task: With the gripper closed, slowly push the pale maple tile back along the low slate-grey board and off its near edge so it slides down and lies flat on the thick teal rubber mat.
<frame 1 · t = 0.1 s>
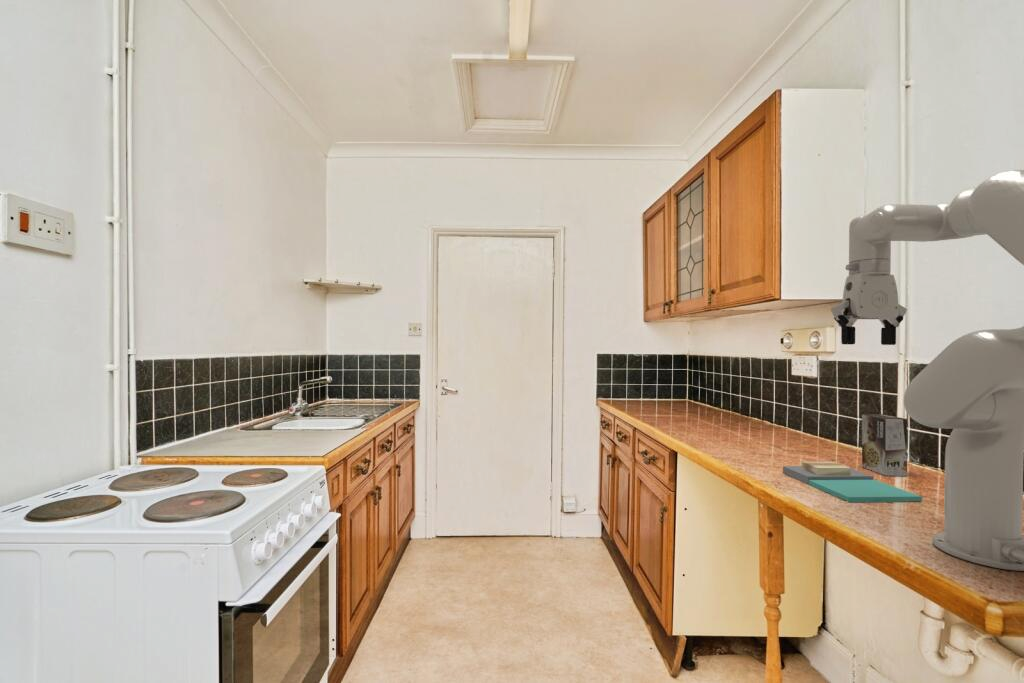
hand: (868, 344, 103), 37 cm above the countertop, tool pointing down, fingers open, 9 cm apart
coffee box: (883, 472, 131), on the countertop
tile: (825, 472, 123), point 2 cm above the countertop, touching board
board: (826, 478, 124), on the countertop
mat: (862, 492, 112), on the countertop
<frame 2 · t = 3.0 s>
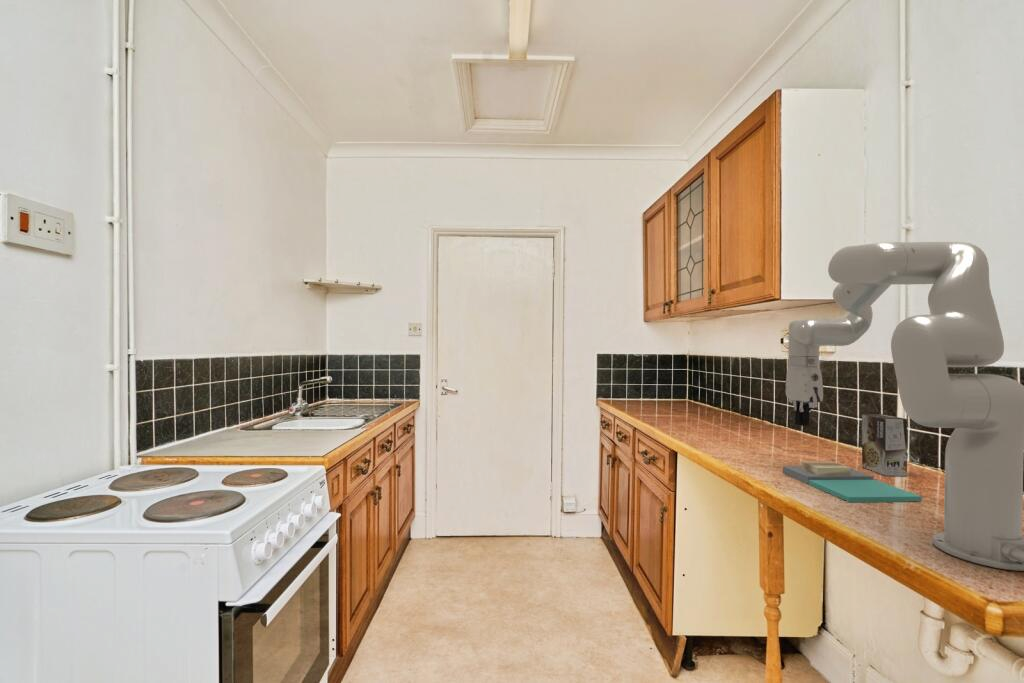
hand: (802, 424, 132), 13 cm above the countertop, tool pointing down, fingers closed
nothing on the countertop moved.
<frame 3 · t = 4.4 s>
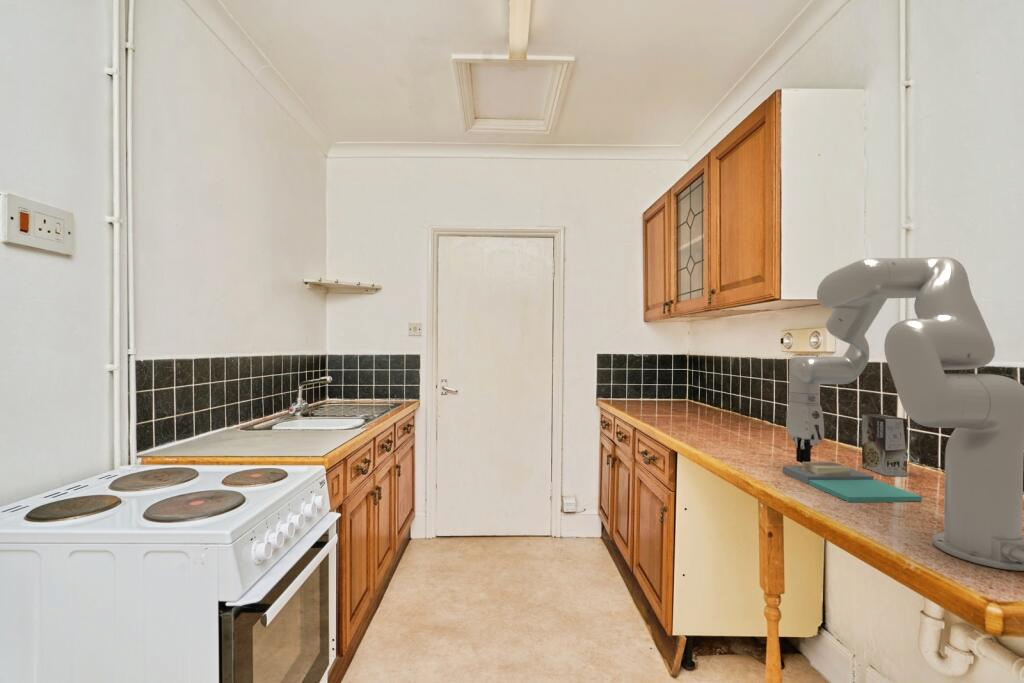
hand: (803, 461, 131), 2 cm above the countertop, tool pointing down, fingers closed
nothing on the countertop moved.
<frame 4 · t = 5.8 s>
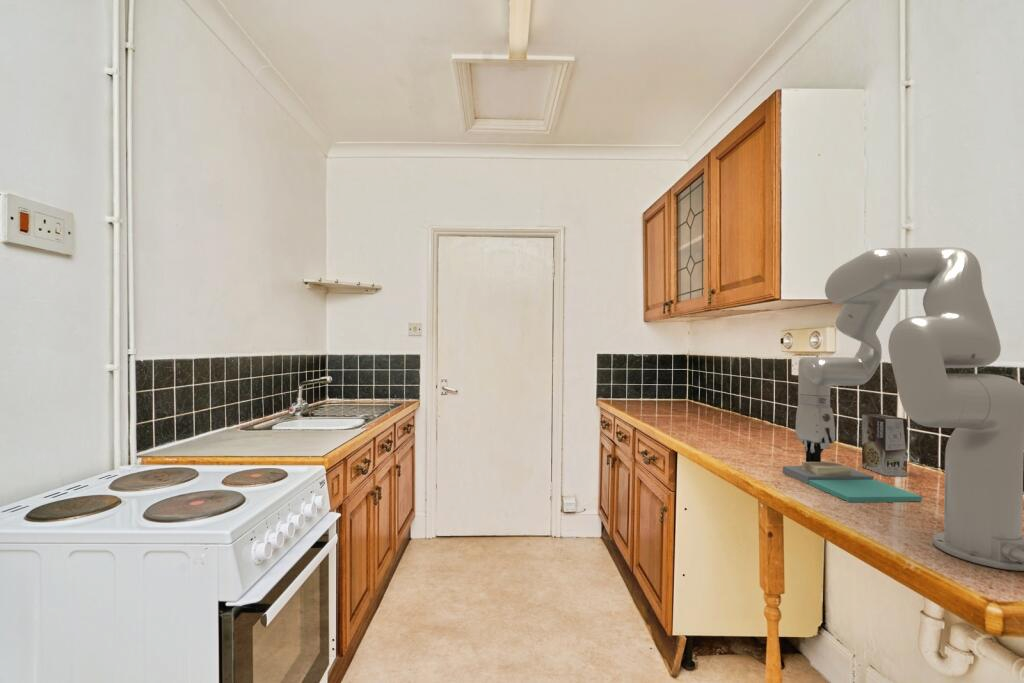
hand: (813, 465, 127), 2 cm above the countertop, tool pointing down, fingers closed
tile: (825, 472, 123), point 2 cm above the countertop, touching board, gripper
everything else where it was.
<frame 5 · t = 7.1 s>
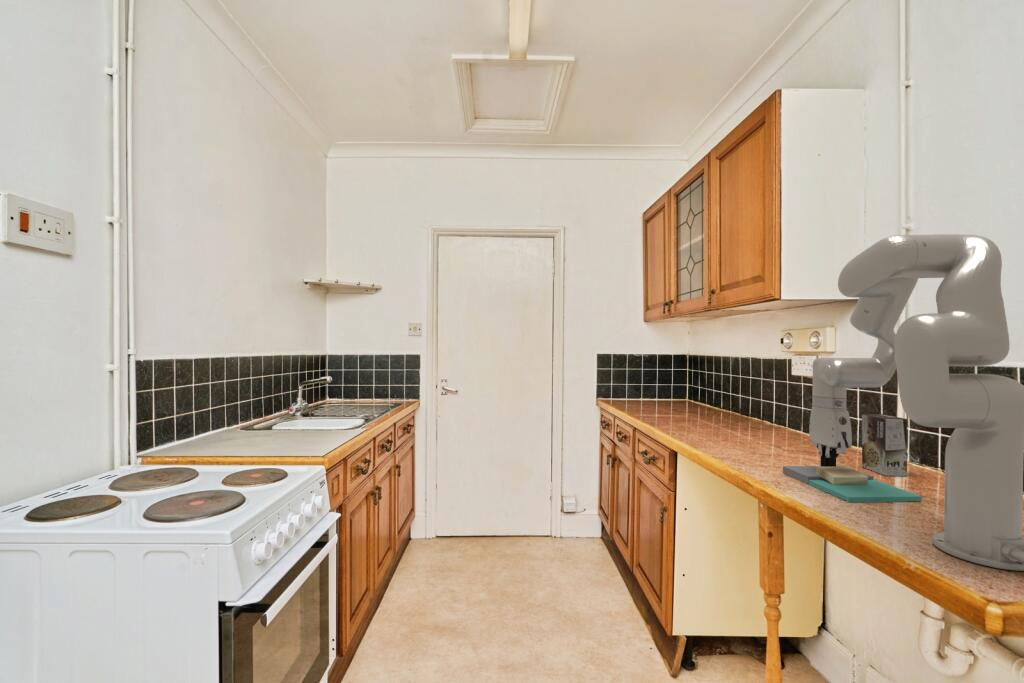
hand: (828, 471, 122), 2 cm above the countertop, tool pointing down, fingers closed
tile: (841, 478, 117), point 2 cm above the countertop, tilted 11°, touching gripper
everything else where it was.
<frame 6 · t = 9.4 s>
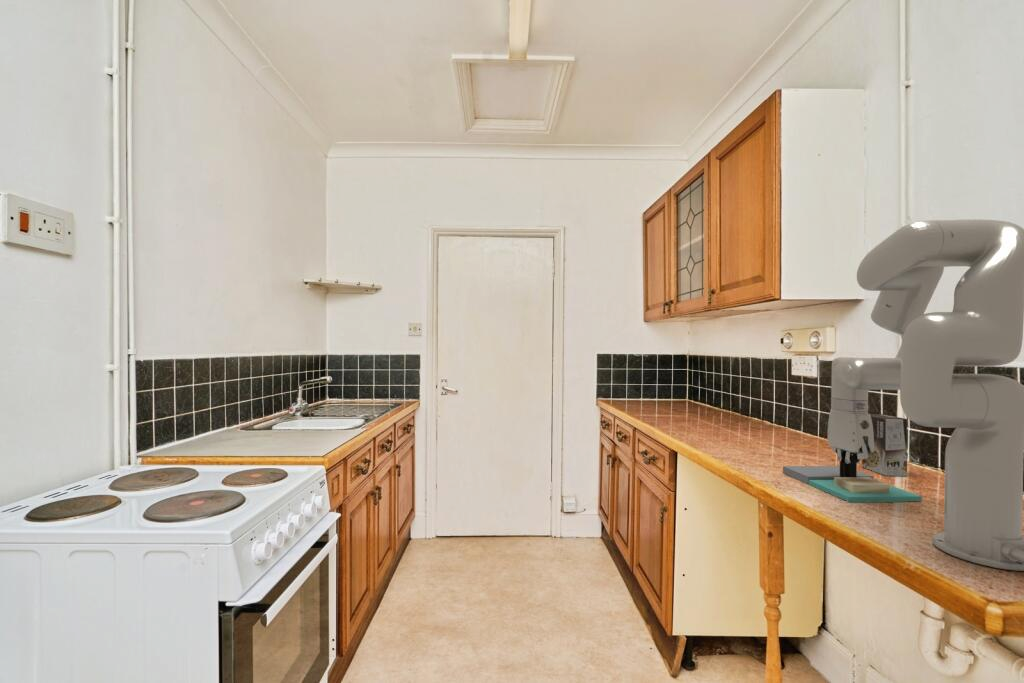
hand: (848, 477, 115), 3 cm above the countertop, tool pointing down, fingers closed
tile: (861, 489, 111), point 1 cm above the countertop, touching gripper, mat
everything else where it was.
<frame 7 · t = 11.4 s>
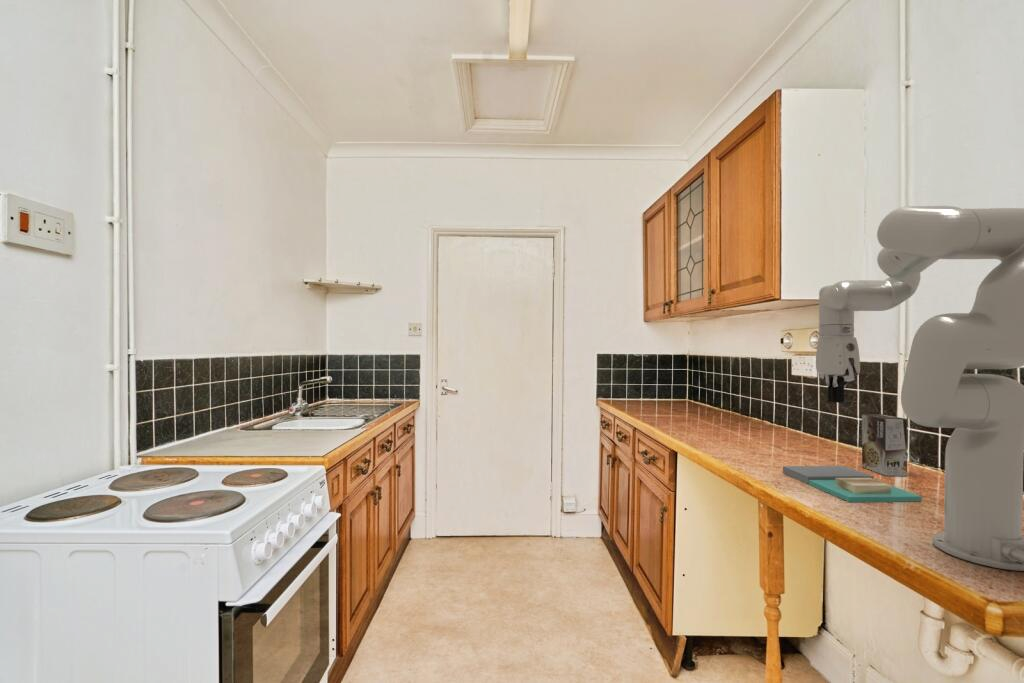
hand: (835, 401, 119), 22 cm above the countertop, tool pointing down, fingers closed
tile: (862, 489, 110), point 1 cm above the countertop, touching mat
everything else where it was.
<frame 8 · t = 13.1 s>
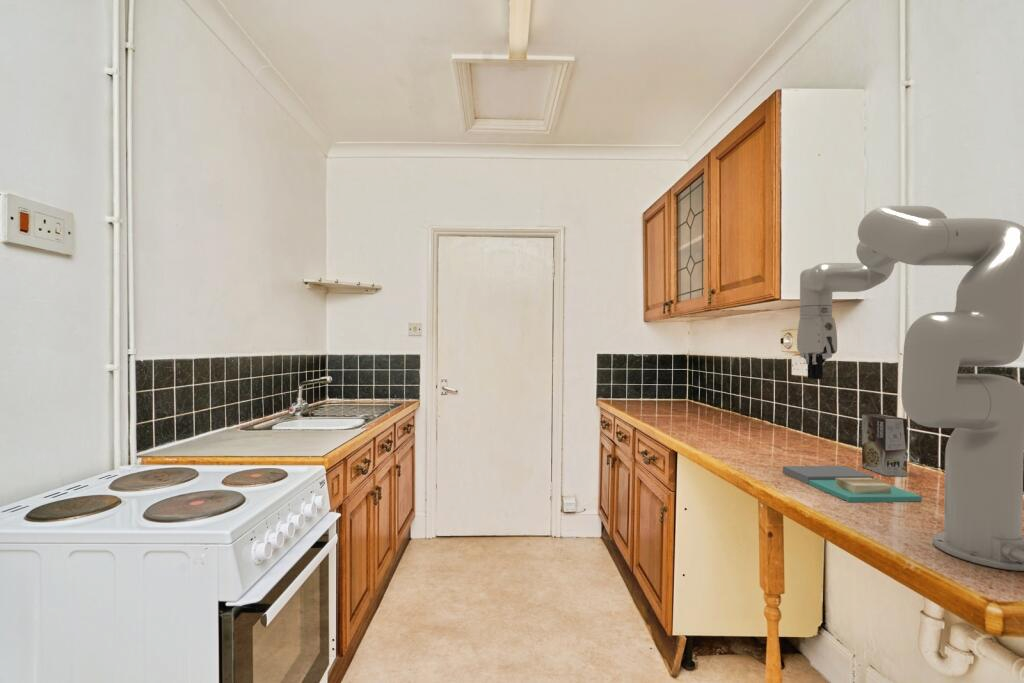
hand: (815, 378, 126), 27 cm above the countertop, tool pointing down, fingers closed
nothing on the countertop moved.
at the end: tile inside the target area (1.1 cm from its centre), point 1.2 cm above the countertop; tile tilted 0° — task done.
